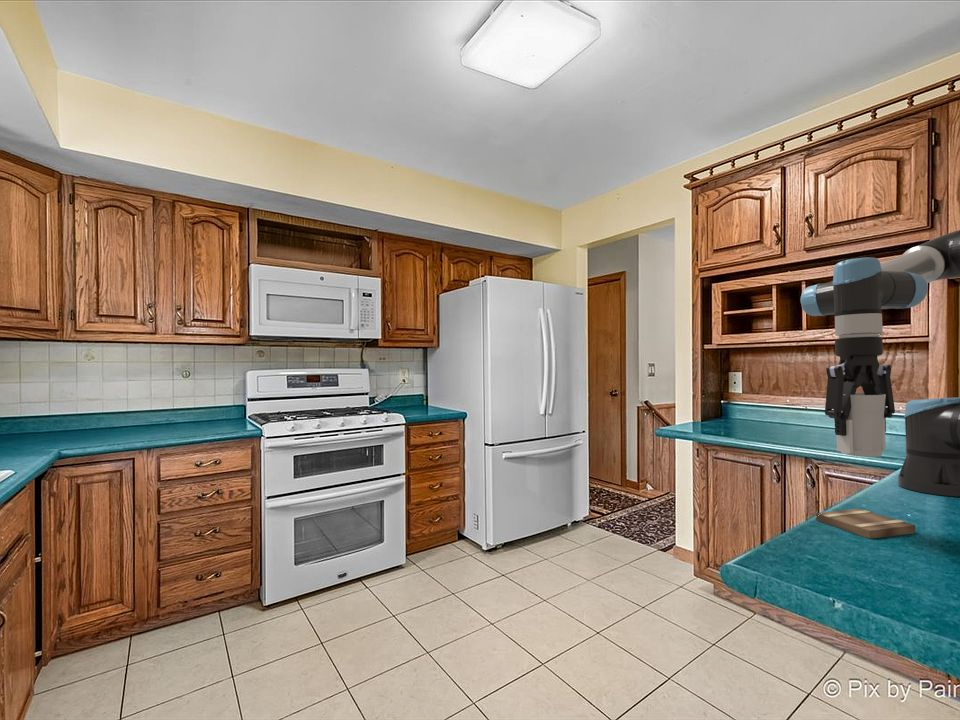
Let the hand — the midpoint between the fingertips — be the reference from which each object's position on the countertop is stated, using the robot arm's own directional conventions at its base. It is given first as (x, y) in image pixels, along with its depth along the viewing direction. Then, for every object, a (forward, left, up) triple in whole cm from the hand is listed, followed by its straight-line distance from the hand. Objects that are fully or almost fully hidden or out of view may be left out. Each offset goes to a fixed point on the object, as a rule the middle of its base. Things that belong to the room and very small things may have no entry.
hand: (861, 450), depth 96 cm
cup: (0, 0, -1) cm, 1 cm away
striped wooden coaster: (0, 0, -15) cm, 15 cm away
